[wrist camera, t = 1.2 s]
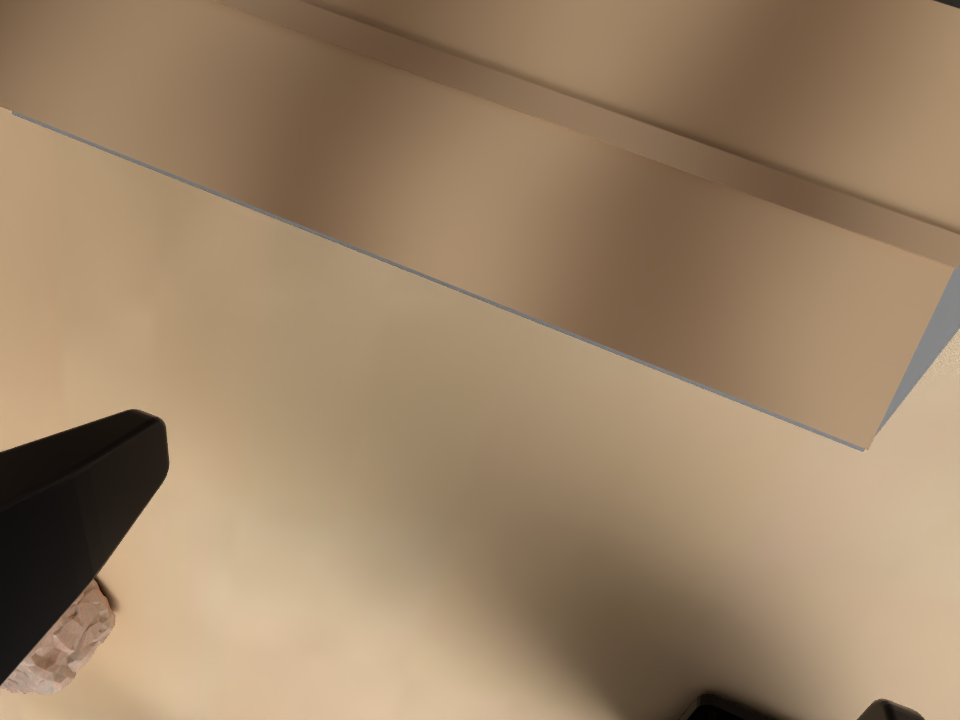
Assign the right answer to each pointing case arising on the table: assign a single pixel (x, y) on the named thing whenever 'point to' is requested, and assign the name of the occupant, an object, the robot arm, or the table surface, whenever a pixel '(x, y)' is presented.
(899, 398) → the underlay
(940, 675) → the table surface
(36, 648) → the brick
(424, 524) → the table surface
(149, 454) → the robot arm
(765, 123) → the click plank
